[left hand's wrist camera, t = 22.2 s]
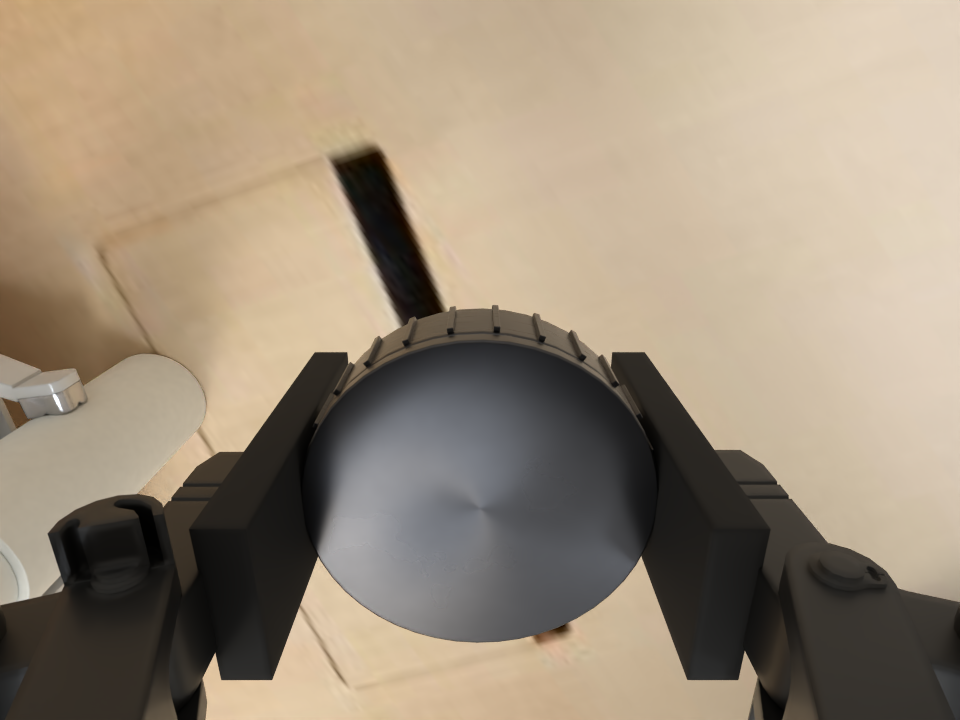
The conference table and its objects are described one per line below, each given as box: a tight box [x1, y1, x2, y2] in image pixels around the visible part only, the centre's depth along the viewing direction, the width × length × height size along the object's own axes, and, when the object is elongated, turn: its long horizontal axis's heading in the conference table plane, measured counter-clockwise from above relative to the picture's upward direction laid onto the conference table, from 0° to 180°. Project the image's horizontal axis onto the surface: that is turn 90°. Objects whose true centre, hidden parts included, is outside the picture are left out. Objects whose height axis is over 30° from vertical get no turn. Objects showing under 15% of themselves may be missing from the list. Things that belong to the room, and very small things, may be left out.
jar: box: [0, 354, 206, 605], centre depth 26 cm, size 5×5×16 cm
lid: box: [301, 305, 659, 643], centre depth 11 cm, size 6×6×2 cm
